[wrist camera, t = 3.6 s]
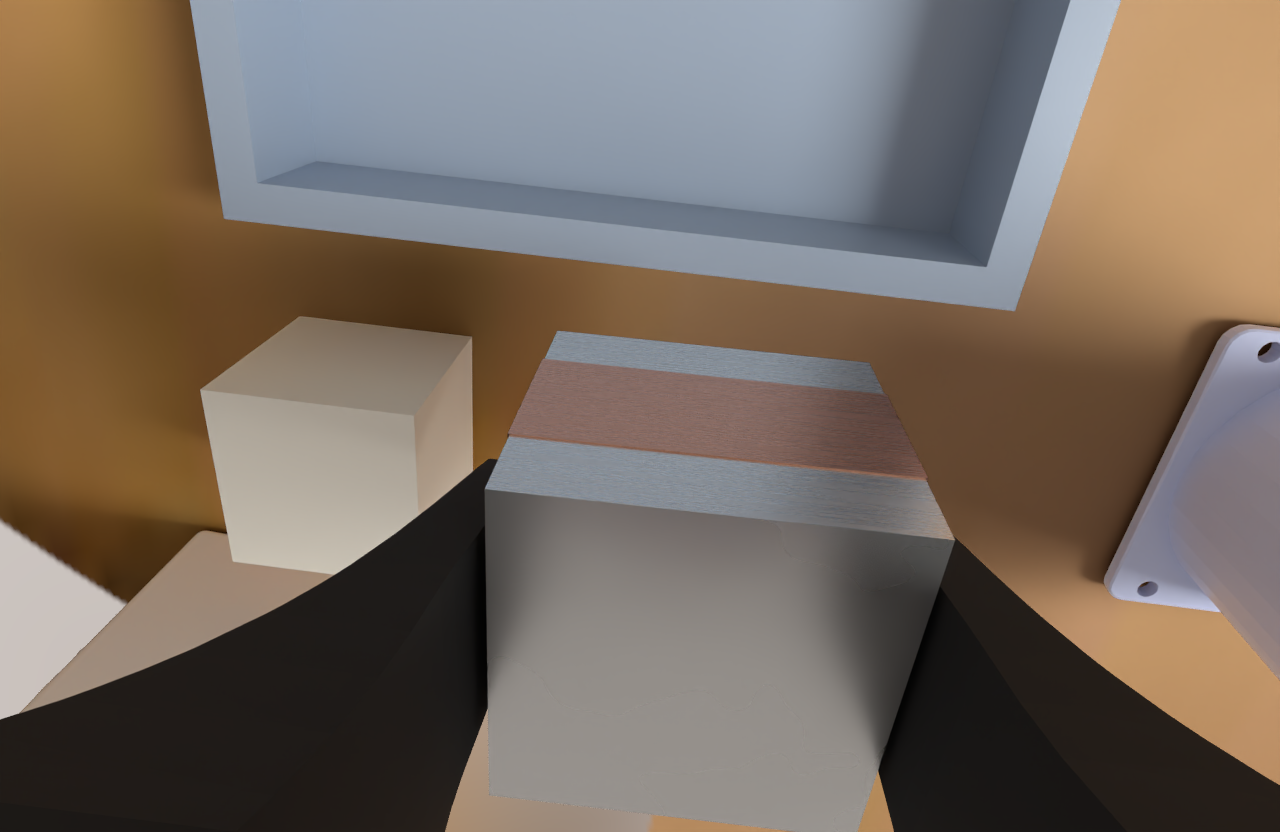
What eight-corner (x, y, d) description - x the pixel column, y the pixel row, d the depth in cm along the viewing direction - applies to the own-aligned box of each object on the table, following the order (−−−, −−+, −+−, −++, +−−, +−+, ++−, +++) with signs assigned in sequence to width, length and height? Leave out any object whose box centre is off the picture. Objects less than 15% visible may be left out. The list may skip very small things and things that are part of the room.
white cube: (472, 335, 20) (414, 415, 16) (473, 482, 22) (422, 585, 18) (301, 315, 20) (200, 389, 16) (318, 463, 22) (232, 561, 18)
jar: (228, 474, 22) (-206, 890, 12) (461, 622, 24) (269, 1093, 14) (117, 643, 26) (-291, 1079, 15) (328, 760, 28) (95, 1218, 17)
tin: (870, 361, 12) (957, 539, 8) (811, 605, 14) (856, 839, 10) (556, 329, 12) (482, 487, 8) (548, 576, 14) (487, 796, 10)
